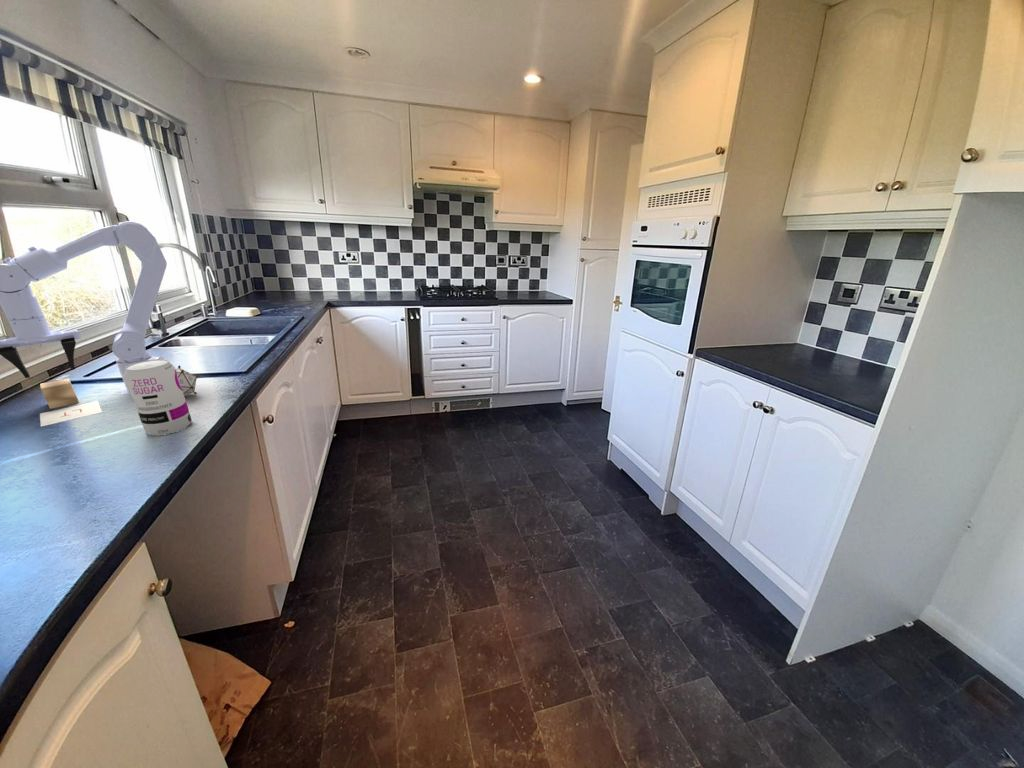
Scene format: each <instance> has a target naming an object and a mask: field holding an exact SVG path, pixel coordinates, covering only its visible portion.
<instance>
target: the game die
mask: <svg viewBox="0 0 1024 768" xmlns="http://www.w3.org/2000/svg"><path fill="white" fill-rule="evenodd" d="M175 369H176V372H177V375H178V379H179V382H180V385H181V388H182V391H183V394H184V397H185V396H188V395H191V394H195V395H197V394H198V392H196V391H195V389H196V385H197V379H198V377H199V378H200V377H201V374H197V375H195V374H193V373H191V372H188V371H187V370H184V369H182V367H181V365H180V364H179V365H177V368H175Z"/></svg>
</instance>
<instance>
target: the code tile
mask: <svg viewBox="0 0 1024 768" xmlns="http://www.w3.org/2000/svg"><path fill="white" fill-rule="evenodd" d="M100 413H103V411H102V408H101V406H100V403H99V401H98V400H96V401H91V402H86V403H82V404H77V405H73V406H68V407H64V408H59V409H54V410H51V411H46V412H42V413H39V420H40V427H45V426H49V425H53V424H54V425H55V424H58V423H63V422H67V421H71V420H75V419H79V418H84V417H87V416H92V415H96V414H100Z"/></svg>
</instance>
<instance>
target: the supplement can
mask: <svg viewBox="0 0 1024 768" xmlns="http://www.w3.org/2000/svg"><path fill="white" fill-rule="evenodd" d="M176 369H177V368H176V367H175V365H173V364H172V363H171V362H170V361H169V360H168V359H165V358H164V359H156V360H148V361H142V362H138V363H134V364H131V365H129V366H127V367H126V371H125V374H124V377H125V380H126V383H127V385H128V388H129V391H130V393H131V394H130V396H131V399H132V402H133V403H134V406H135V409H136V413H137V414H138V416H139V419H140V421H141V422H140V423H141V425H142V427H143V430H144V432H145V433H146V434H149V435H150V434H151V436H153V435H162V436H165V435H164V434H168V435H171V434H170V433H172V434H175V433H174V432H176V433H177V431H178V432H181V431H183V430H185V429H187V428H188V427H189V426H190V425H191V423H192V421H193V419H192V416H191V413H190V410H189V407H188V404H187V401H186V398H185V396H184V394H183V391H182V388H181V385H180V382H179V379H178V375H177V372H176ZM188 425H189V426H188ZM187 426H188V427H187ZM186 427H187V428H186ZM184 428H185V429H184ZM182 429H183V430H182ZM180 430H181V431H180Z"/></svg>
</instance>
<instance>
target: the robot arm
mask: <svg viewBox="0 0 1024 768" xmlns="http://www.w3.org/2000/svg"><path fill="white" fill-rule="evenodd" d="M120 242H121V243H122V244H123V245H124V246H125V247H127V248H128V249H129V250H131V251H132V252H133V253H134V255H135V256H136V257H137V258H138V260H139V261H140V262H141V264H142V266H141V269H140V272H139V276H138V278H137V282H136V285H135V288H134V290H133V295H132V298H131V301H130V304H129V307H128V311H127V314H126V317H125V320H124V323H123V326H122V328H121V330H120V332H118V333H117V334H116V335H115V336H114V338H113V344H112V345H111V351H112V352H113V354H114V356H115V357H116V358H115V363H116V365H117V368H118V371H119V373H120V376H121V378H122V381H123V383H124V386H125V388H126V389H125V390H124V391H122V392H121V393H120V395H131V393H130V391H129V388H128V385H127V383H126V380H125V377H124V374H125V371H126V367H127V366H129V365H131V364H134V363H138V362H142V361H148V360H156V359H165V358H164V357H163V356H154V355H152V352H148V351H147V349H146V339H145V338H146V336H147V335H146V334H147V330H148V326H149V323H150V319H151V316H152V314H153V310H154V307H155V304H156V301H157V298H158V295H159V291H160V289H161V285H162V281H163V278H164V276H165V273H166V268H167V265H168V263H167V259H166V258H165V256H164V254H163V251H162V249H161V246H160V245H159V243H158V240H157V239H156V236H154V235H153V233H151V232H150V231H149V229H148V228H147V227H145V226H144V225H143V224H141V223H139V222H136V221H133V220H132V221H129V220H127V221H126V220H125V221H122V222H120V223H119V224H118V225H117V224H113V225H109V226H105V227H101V228H98V229H94V230H93V231H90V232H88V233H86V234H84V235H82V236H79V237H77V238H74V239H73V240H71V241H68V242H67V243H64V244H62V245H60V246H58V247H49V246H46V245H41V246H39V247H37V246H36V245H34V246H31V247H29V248H27V250H28V252H27V251H26V252H24V253H22V254H20V255H18V256H17V255H16V256H15V257H13V258H12V257H6V258H4V259H3V261H4V262H5V263H0V306H1V309H2V311H3V314H4V315H5V317H6V320H7V322H8V323H9V326H10V328H11V331H12V333H13V335H14V337H9V338H4V339H0V356H1V357H2V358H4V359H6V361H8V362H10V364H11V365H13V366H14V367H16V369H18V370H19V371H20V373H21V374H22V375H23V377H24V378H25V379H29V378H30V377H31V374H30V373H29V371H28V369H27V367H26V366H25V364H24V363H23V360H22V358H21V356H20V353H19V351H18V350H17V348H19V347H27V346H34V345H40V344H48V343H55V342H60V345H61V347H62V348H63V351H64V353H65V356H66V358H67V361H68V365H69V368H70V370H71V371H74V370H76V366H75V361H74V359H75V358H74V357H75V349H76V345H77V342H76V340H80V339H81V336H80V333H79V331H78V329H73V330H63V331H62V330H61V331H54V332H53V331H51V328H50V326H49V324H48V322H47V319H46V317H45V314H44V312H43V311H42V308H41V306H40V303H39V302H38V298H37V297H36V295H35V294H34V292H33V290H32V288H31V285H30V284H31V282H35V283H37V282H40V281H42V280H44V279H47V278H49V277H50V276H53V275H55V274H58V273H59V272H62V271H64V270H66V269H67V268H68V261H70V260H72V259H74V258H77V257H80V256H81V255H85V254H86V253H89V252H91V251H94V250H97V249H98V248H101V247H104V246H105V247H106V246H108V247H120V246H121V243H120Z"/></svg>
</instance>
